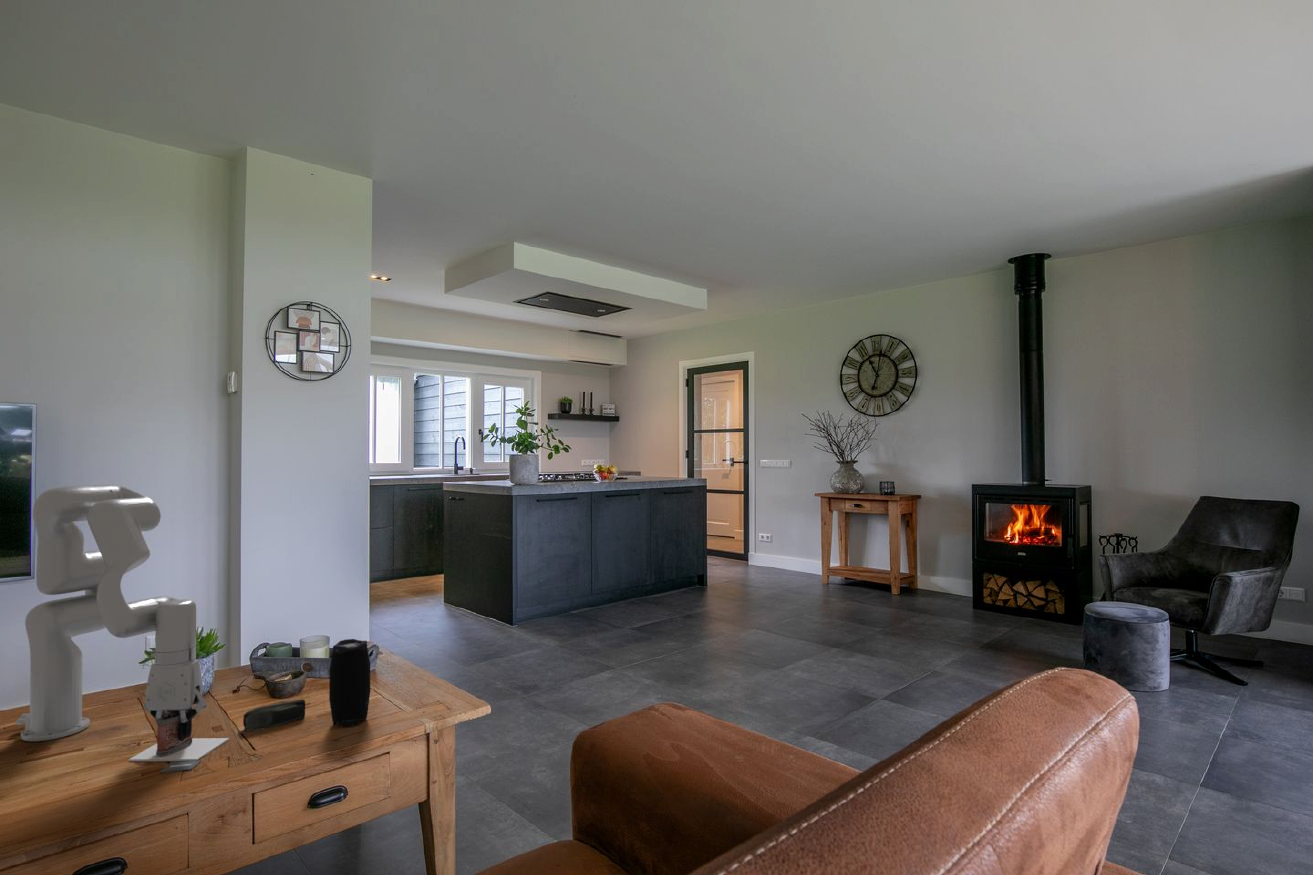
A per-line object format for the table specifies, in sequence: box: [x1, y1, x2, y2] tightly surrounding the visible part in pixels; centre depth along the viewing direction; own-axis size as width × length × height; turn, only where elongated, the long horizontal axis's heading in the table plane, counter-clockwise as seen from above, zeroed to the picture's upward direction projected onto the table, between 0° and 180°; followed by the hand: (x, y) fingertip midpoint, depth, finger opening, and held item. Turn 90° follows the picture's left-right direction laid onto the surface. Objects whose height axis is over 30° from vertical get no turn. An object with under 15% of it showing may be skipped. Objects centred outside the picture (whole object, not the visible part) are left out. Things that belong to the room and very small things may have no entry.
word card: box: [159, 760, 202, 774], centre depth 147 cm, size 6×4×1 cm, turn 100°
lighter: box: [156, 710, 193, 756], centre depth 155 cm, size 8×3×10 cm, turn 168°
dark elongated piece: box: [237, 699, 306, 735], centre depth 169 cm, size 5×3×15 cm
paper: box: [128, 737, 230, 762], centre depth 155 cm, size 15×11×1 cm
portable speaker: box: [328, 638, 371, 729], centre depth 171 cm, size 9×9×20 cm
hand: (174, 737), depth 155 cm, fingers closed on lighter, 3 cm apart
